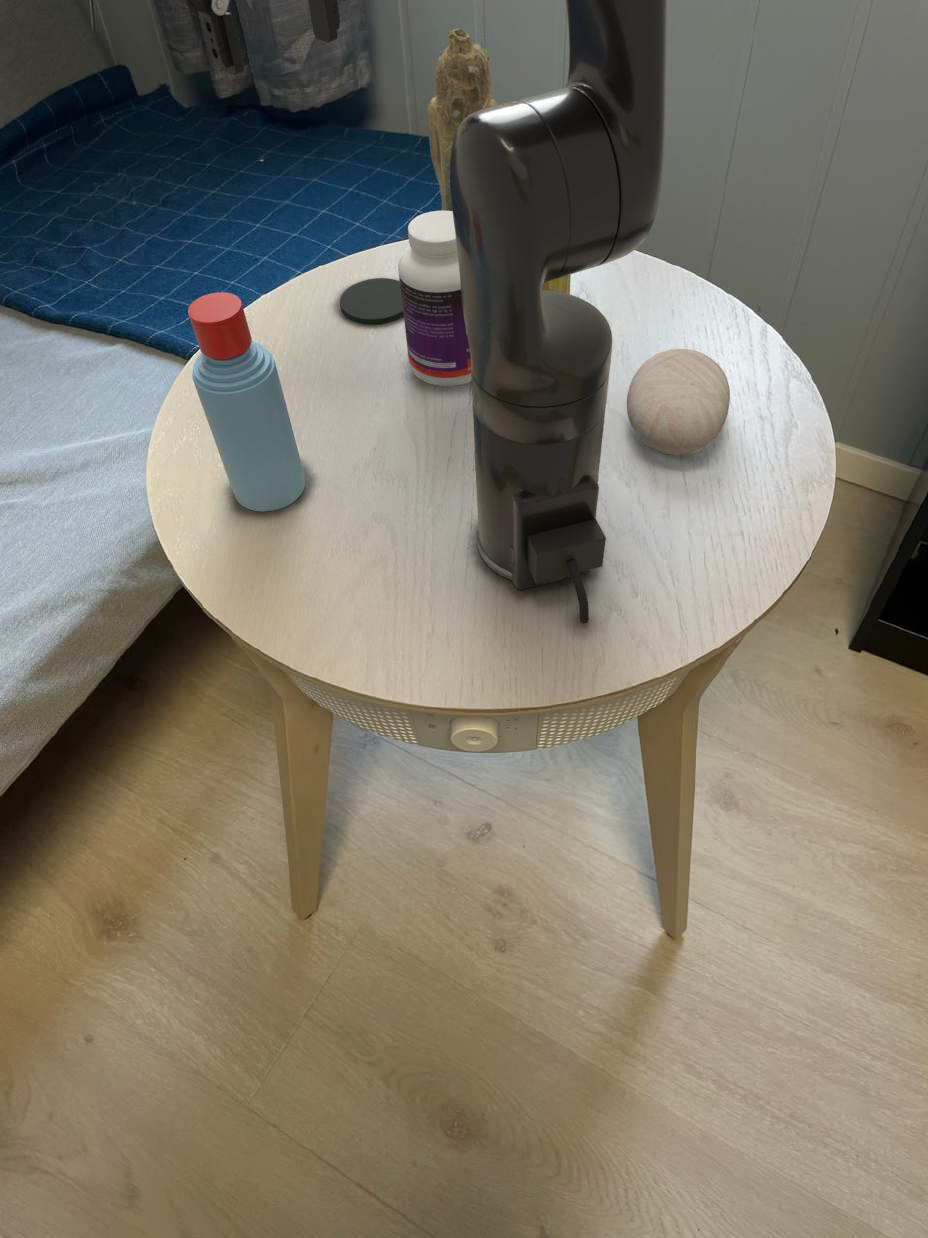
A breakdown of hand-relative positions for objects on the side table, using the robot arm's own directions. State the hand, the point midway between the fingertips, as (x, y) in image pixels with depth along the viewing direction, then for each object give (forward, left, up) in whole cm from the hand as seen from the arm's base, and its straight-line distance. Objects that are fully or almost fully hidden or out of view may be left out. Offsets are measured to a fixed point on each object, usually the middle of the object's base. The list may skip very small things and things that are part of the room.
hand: (281, 54), depth 64 cm
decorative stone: (-19, -28, -28) cm, 44 cm away
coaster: (+10, -6, -28) cm, 30 cm away
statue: (+9, -17, -28) cm, 34 cm away
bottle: (-15, +9, -28) cm, 33 cm away
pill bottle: (-3, -10, -28) cm, 30 cm away
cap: (-15, +9, -13) cm, 22 cm away
